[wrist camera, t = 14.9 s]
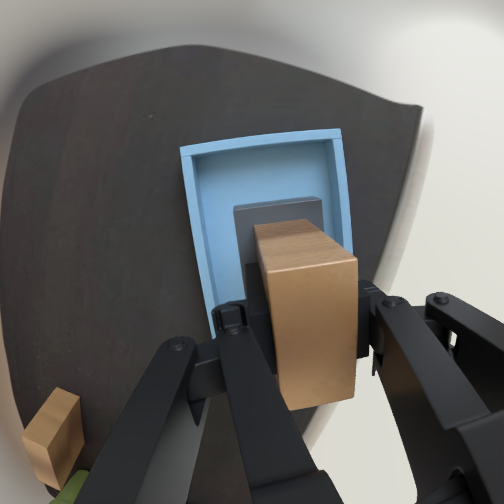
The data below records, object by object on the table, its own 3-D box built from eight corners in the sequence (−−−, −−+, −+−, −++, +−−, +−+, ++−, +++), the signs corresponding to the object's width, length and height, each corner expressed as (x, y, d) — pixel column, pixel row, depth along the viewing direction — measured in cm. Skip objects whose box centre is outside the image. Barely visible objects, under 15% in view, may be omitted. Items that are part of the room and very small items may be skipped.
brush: (233, 205, 19) (228, 244, 9) (313, 195, 19) (385, 224, 9) (250, 323, 21) (259, 431, 11) (321, 312, 21) (374, 408, 11)
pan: (186, 150, 26) (179, 147, 23) (330, 133, 26) (340, 128, 23) (217, 337, 30) (215, 353, 27) (344, 318, 30) (354, 332, 27)
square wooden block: (56, 386, 31) (20, 435, 21) (79, 396, 31) (46, 448, 22) (64, 434, 33) (37, 480, 23) (84, 443, 33) (61, 491, 24)
